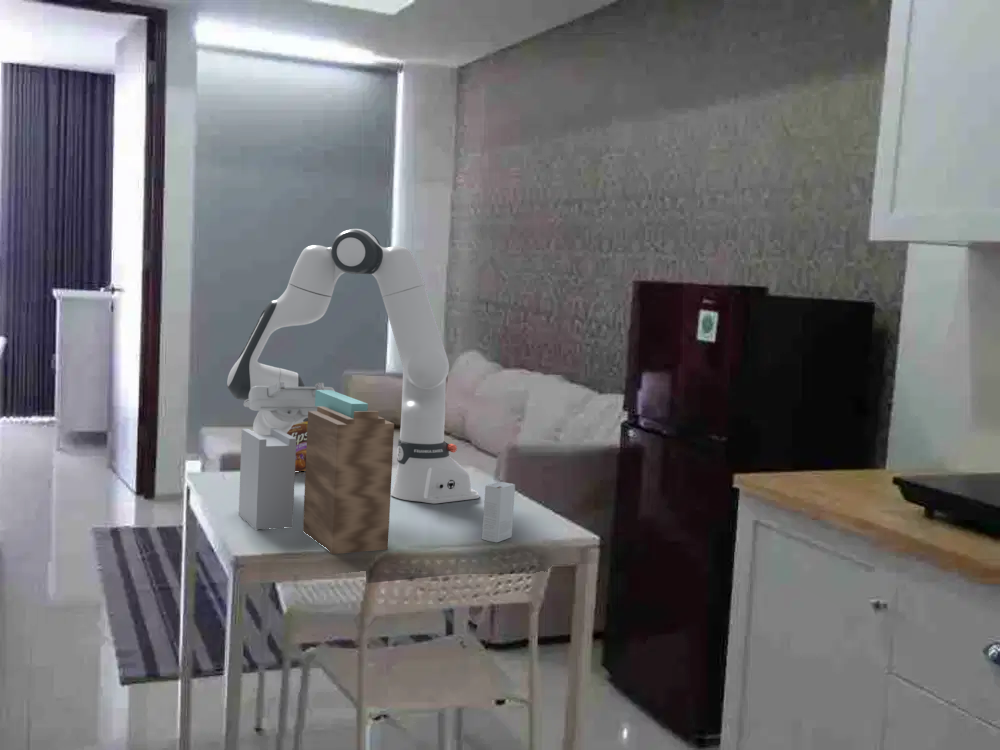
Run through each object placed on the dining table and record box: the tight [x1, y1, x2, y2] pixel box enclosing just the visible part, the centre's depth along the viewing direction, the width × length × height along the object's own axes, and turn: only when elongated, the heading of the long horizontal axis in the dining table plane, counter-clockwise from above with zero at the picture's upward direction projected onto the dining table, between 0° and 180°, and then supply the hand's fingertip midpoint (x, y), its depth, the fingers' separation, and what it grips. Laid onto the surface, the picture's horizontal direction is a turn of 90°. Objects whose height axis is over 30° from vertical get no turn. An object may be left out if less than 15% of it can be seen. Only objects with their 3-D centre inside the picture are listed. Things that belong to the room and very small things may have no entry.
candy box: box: [287, 421, 308, 471], centre depth 282 cm, size 9×4×15 cm, turn 123°
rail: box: [315, 390, 369, 419], centre depth 218 cm, size 4×22×4 cm, turn 29°
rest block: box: [238, 428, 296, 530], centre depth 226 cm, size 8×14×20 cm, turn 29°
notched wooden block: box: [302, 406, 395, 555], centre depth 214 cm, size 12×18×28 cm, turn 29°
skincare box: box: [481, 481, 516, 543], centre depth 224 cm, size 6×4×12 cm
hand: (301, 385), depth 238 cm, fingers open, 8 cm apart
